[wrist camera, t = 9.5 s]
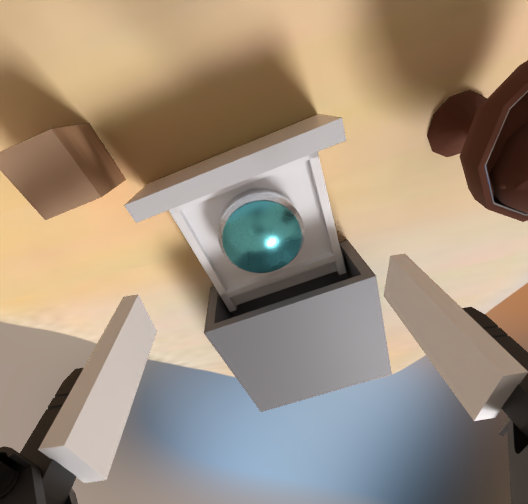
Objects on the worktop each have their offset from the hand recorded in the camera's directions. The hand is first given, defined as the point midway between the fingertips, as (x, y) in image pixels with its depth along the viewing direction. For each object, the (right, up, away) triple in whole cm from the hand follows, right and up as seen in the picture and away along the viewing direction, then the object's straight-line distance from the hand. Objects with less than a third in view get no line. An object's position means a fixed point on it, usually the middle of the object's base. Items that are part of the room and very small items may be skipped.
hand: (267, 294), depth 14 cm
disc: (-1, +5, +12) cm, 13 cm away
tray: (-1, +5, +13) cm, 14 cm away
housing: (+4, -6, +20) cm, 21 cm away
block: (-16, +10, +9) cm, 21 cm away
